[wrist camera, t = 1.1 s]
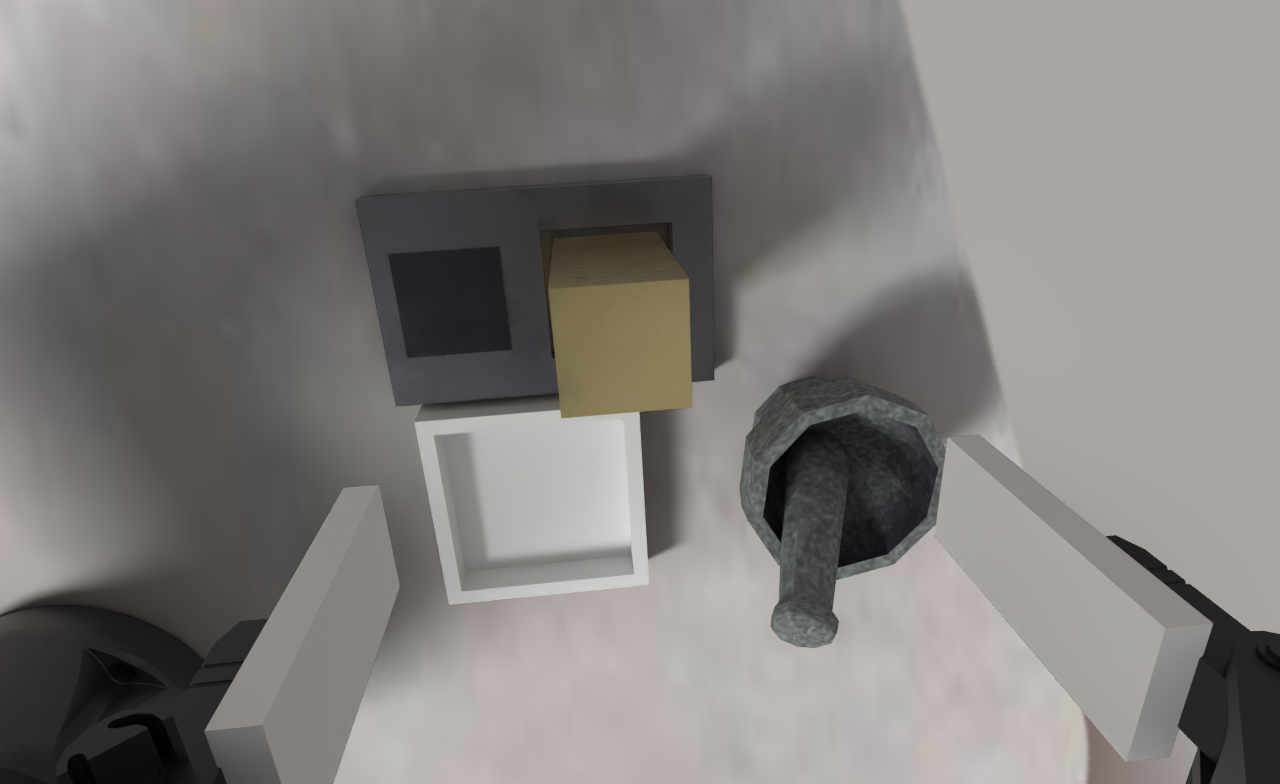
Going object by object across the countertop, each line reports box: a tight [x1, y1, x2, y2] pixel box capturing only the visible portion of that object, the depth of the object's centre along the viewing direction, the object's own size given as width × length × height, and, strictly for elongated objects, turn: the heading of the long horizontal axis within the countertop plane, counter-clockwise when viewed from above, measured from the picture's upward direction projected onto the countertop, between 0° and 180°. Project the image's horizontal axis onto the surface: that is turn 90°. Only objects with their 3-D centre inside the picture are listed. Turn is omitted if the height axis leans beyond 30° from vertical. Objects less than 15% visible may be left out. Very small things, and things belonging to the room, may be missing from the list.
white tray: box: [414, 393, 649, 605], centre depth 38 cm, size 11×11×2 cm
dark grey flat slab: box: [355, 175, 714, 406], centre depth 35 cm, size 16×10×1 cm, turn 93°
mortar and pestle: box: [740, 377, 946, 648], centre depth 34 cm, size 11×9×12 cm
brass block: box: [548, 231, 692, 418], centre depth 31 cm, size 5×5×10 cm
